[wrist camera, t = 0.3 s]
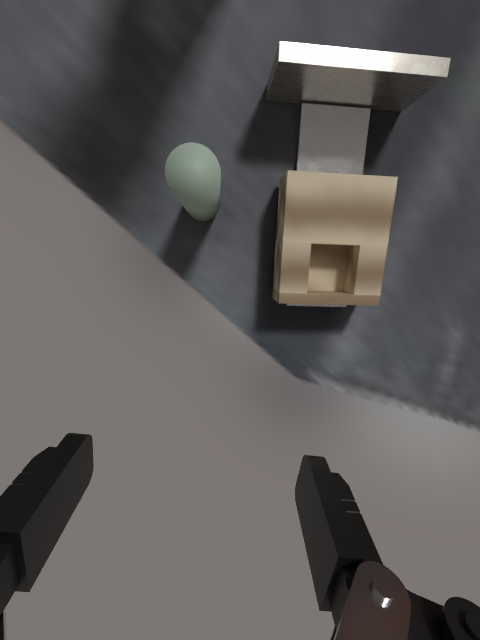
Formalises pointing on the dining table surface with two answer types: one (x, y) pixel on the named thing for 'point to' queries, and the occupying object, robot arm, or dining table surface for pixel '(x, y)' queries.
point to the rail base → (345, 98)
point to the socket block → (332, 237)
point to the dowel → (195, 179)
